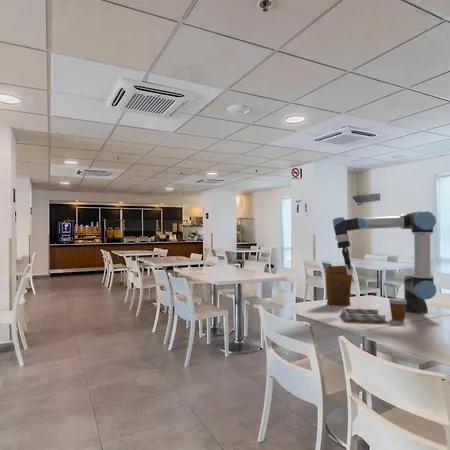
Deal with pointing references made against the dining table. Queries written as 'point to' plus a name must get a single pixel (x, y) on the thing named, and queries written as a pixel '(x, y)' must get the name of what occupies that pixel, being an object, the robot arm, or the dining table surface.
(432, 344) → the dining table surface
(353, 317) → the rail board
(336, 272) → the pancake mix bag
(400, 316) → the disposable coffee cup
